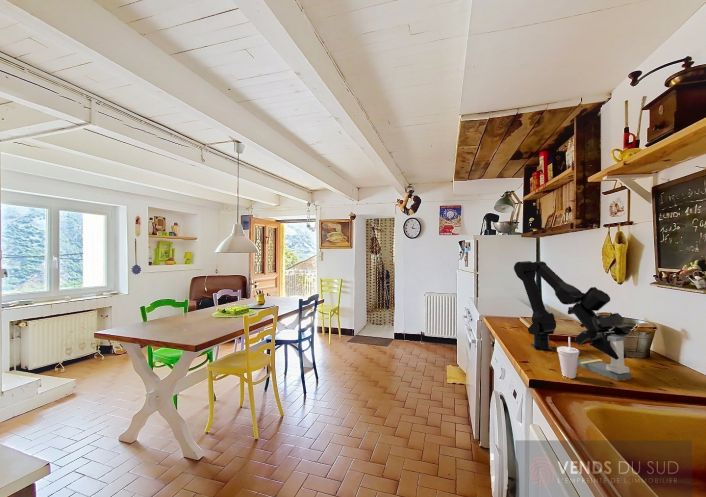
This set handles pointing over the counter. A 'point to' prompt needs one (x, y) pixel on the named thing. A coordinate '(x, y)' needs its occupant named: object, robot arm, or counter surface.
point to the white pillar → (618, 347)
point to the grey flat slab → (602, 369)
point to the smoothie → (568, 360)
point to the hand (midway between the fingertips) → (621, 358)
